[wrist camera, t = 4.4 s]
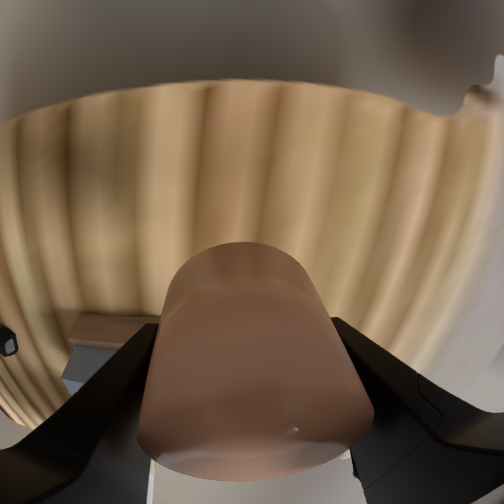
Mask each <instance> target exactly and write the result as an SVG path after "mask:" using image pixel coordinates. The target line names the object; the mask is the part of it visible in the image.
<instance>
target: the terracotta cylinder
mask: <svg viewBox="0 0 504 504" xmlns="http://www.w3.org/2000/svg"><path fill="white" fill-rule="evenodd" d="M373 420H374V409H373V406H372V404H371V402H370V399H369V397H368V395H367V393H366V391H365V388H364V386H363V384H362V382H361V380H360V378H359V376H358V373H357V371H356V369H355V367H354V365H353V363H352V361H351V359H350V357H349V355H348V353H347V351H346V348H345V346H344V344H343V342H342V340H341V338H340V336H339V334H338V332H337V330H336V328H335V326H334V324H333V322H332V320H331V318H330V316H329V314H328V312H327V310H326V308H325V306H324V304H323V302H322V300H321V299H320V297H319V295H318V293H317V291H316V289H315V287H314V285H313V283H312V281H311V279H310V277H309V276H308V274H307V272H306V271H305V269H304V268H303V267H302V266H301V265H300V263H299V262H297V261H296V260H295V259H294V258H293V257H291V256H290V255H288V254H287V253H285V252H283V251H281V250H279V249H277V248H275V247H271V246H268V245H265V244H260V243H254V242H234V243H227V244H222V245H218V246H215V247H212V248H209V249H207V250H205V251H202V252H200V253H199V254H197V255H195V256H194V257H192V258H191V259H190V260H188V261H187V262H186V263H185V264H184V265H183V266H182V267H181V268H180V269H179V270H178V271H177V273H176V274H175V276H174V277H173V279H172V281H171V283H170V285H169V288H168V291H167V295H166V299H165V302H164V306H163V310H162V314H161V318H160V322H159V326H158V330H157V334H156V339H155V343H154V347H153V352H152V356H151V361H150V365H149V370H148V375H147V380H146V385H145V390H144V395H143V400H142V406H141V412H140V417H139V423H138V430H137V441H138V444H139V446H140V448H141V449H142V450H143V451H144V453H145V454H146V455H147V456H149V457H150V458H151V459H152V460H154V461H155V462H157V463H159V464H160V465H162V466H164V467H166V468H168V469H171V470H174V471H176V472H179V473H182V474H186V475H189V476H193V477H197V478H203V479H209V480H217V481H256V480H266V479H273V478H279V477H284V476H288V475H292V474H296V473H299V472H303V471H305V470H309V469H311V468H314V467H316V466H319V465H321V464H324V463H325V462H328V461H330V460H332V459H334V458H336V457H337V456H339V455H341V454H342V453H344V452H345V451H347V450H348V449H350V448H351V447H352V446H354V445H355V444H356V443H357V442H358V441H359V440H360V439H362V437H363V436H364V435H365V434H366V433H367V431H368V430H369V428H370V427H371V425H372V422H373Z"/></svg>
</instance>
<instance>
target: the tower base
mask: <svg viewBox="0 0 504 504" xmlns="http://www.w3.org/2000/svg"><path fill="white" fill-rule="evenodd" d="M160 318H161V317H143V316H117V315H98V314H83V313H81V314H80V316H79V318H78V319H77V321H76V323H75V325H74V326H73V328H72V330H71V332H70V334H69V336H68V337H67V339H68V341H69V343H70V345H71V347H72V349H73V350H74V348H75V346H82V347H89V348H97V349H106V350H116V351H118V350H119V349H120V348H121V347H122V346H123V345H124V344H125V343H126V342H127V341H128V340H129V339H130V338H131V337H132V336H133V335H134V334H135V333H136V332H137V331H138V330H139V329H140V328H141V327H142V326H143V325H144V324H145V323H159V322H160Z"/></svg>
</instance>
